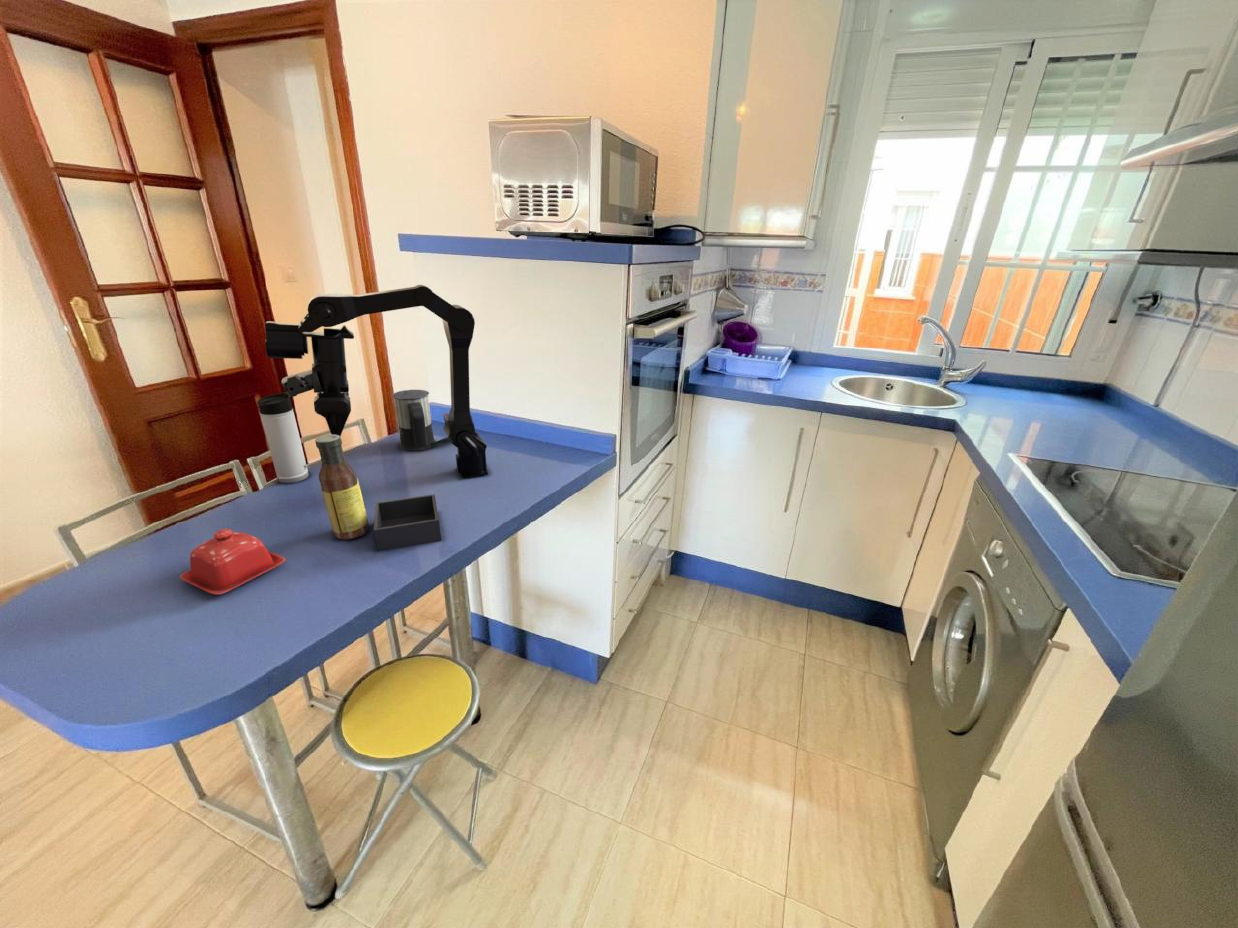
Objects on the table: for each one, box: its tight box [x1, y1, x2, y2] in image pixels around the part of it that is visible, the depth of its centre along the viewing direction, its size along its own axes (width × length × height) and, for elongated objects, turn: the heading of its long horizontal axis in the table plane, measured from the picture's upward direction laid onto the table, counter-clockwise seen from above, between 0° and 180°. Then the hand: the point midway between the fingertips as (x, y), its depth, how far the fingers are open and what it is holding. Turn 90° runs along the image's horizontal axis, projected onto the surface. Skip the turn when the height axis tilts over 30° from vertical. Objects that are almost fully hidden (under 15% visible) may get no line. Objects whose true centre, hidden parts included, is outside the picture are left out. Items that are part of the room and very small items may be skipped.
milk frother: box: [391, 389, 452, 451], centre depth 137 cm, size 14×16×15 cm
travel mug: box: [256, 391, 310, 484], centre depth 115 cm, size 6×7×20 cm
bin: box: [373, 493, 442, 552], centre depth 98 cm, size 11×11×4 cm
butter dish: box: [179, 528, 287, 596], centre depth 83 cm, size 12×12×8 cm
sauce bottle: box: [314, 433, 369, 541], centre depth 94 cm, size 7×6×20 cm
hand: (335, 432), depth 107 cm, fingers open, 9 cm apart
